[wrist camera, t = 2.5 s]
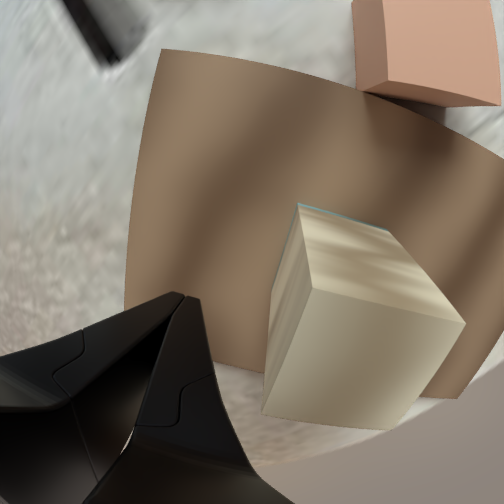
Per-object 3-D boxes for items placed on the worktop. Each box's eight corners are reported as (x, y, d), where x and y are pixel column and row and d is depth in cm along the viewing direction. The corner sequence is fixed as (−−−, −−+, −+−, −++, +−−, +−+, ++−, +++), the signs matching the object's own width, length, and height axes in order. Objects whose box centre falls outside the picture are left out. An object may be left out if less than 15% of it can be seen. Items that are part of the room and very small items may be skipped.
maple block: (386, 229, 14) (466, 323, 7) (354, 308, 16) (391, 430, 9) (297, 202, 14) (312, 287, 7) (271, 288, 16) (260, 414, 9)
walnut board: (549, 194, 13) (560, 199, 12) (451, 388, 19) (456, 398, 18) (170, 53, 13) (161, 48, 12) (131, 323, 19) (123, 333, 18)
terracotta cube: (439, 21, 11) (488, -5, 6) (445, 107, 13) (501, 106, 8) (351, 3, 11) (376, -40, 7) (355, 93, 13) (388, 80, 9)
